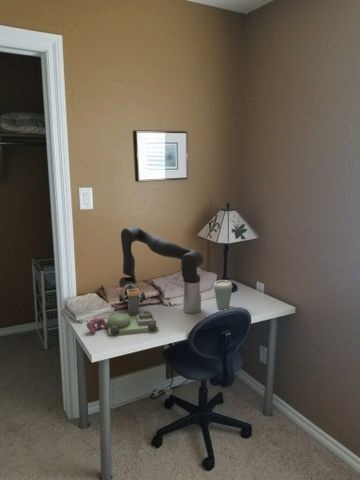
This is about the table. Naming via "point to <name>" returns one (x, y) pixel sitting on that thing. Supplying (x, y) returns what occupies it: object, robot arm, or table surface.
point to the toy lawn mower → (131, 323)
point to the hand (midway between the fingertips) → (133, 302)
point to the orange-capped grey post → (133, 302)
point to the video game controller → (99, 323)
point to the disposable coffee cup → (223, 293)
